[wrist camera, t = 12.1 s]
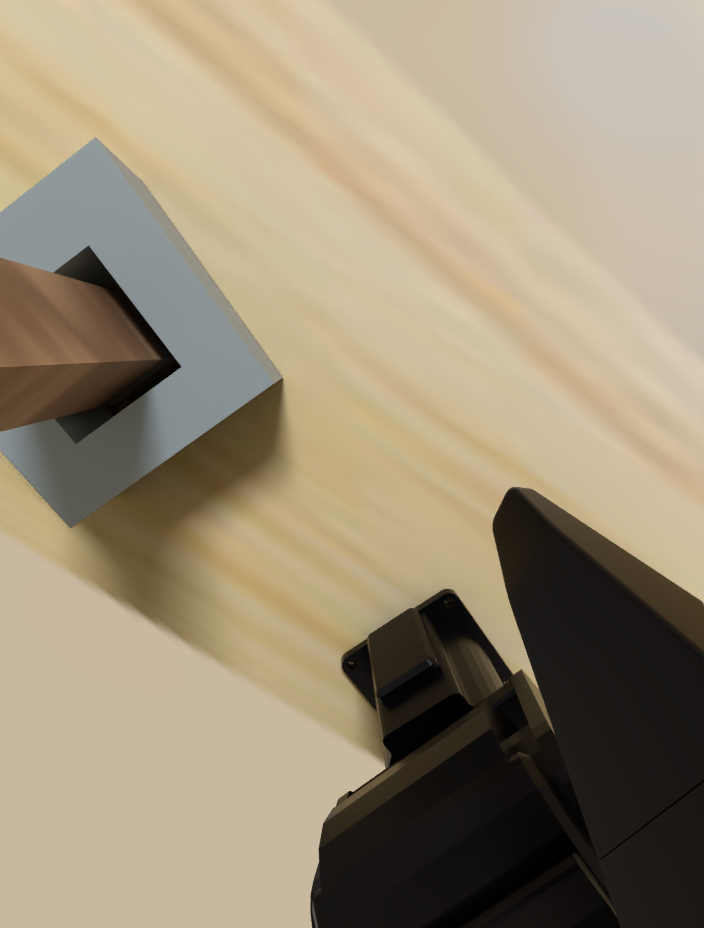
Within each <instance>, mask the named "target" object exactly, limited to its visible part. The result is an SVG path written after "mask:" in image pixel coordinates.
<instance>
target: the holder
mask: <svg viewBox="0 0 704 928" xmlns="http://www.w3.org/2000/svg"><path fill="white" fill-rule="evenodd" d="M0 258H4V259H7V260H11V261H14V262H17V263H21V264H24V265H28V266H31V267H35V268H38V269H42V270H45V271H49V272H52V273H55V274H59V275H62V276H66V277H69V278H73V279H76V280H80V281H83V282H87V283H90V284H93V285H97V286H100V287H104V288H108V287H110V286H111V285H112V284H114V283H115V282H117V283H118V284H119V286H120V287H121V288H122V290H123V291H124V292H125V293H126V295H127V296H128V297H129V299H130V300H131V301H132V303H133V304H134V305H135V307H136V308H137V309H138V310H139V312H140V313H141V314H142V316H143V317H144V318H145V320H146V321H147V322H148V323H149V325H150V326H151V327H152V329H153V330H154V331H155V333H156V334H157V335H158V337H159V338H160V339H161V340H162V342H163V343H164V344H165V346H166V347H167V348H168V350H169V351H170V352H171V354H172V355H173V356H174V357H175V359H176V360H177V361H178V363H179V364H180V365H181V368H180V369H178V370H177V371H176V372H174V373H173V374H171V375H170V376H169V377H167V378H166V379H165V380H163V381H162V382H160V383H159V384H158V385H156V386H155V387H154V388H152V389H151V390H149V391H148V392H147V393H145V394H144V395H143V396H141V397H140V398H138V399H137V400H136V401H134V402H133V403H132V404H130V405H129V406H128V407H126V408H125V409H123V410H122V411H121V412H119V413H118V414H117V415H115V416H113V415H112V414H111V413H110V411H109V410H108V409H107V408H106V406H102V407H98V408H94V409H90V410H86V411H82V412H78V413H74V414H70V415H66V416H62V417H58V418H54V419H50V420H46V421H42V422H38V423H34V424H30V425H26V426H22V427H18V428H14V429H10V430H6V431H2V432H0V451H1V452H2V453H3V454H4V455H5V456H6V457H7V458H8V460H9V461H10V462H11V463H12V464H13V465H14V466H15V467H16V468H17V470H18V471H19V472H20V473H21V474H22V475H23V476H24V477H25V478H26V480H27V481H28V482H29V483H30V484H31V485H32V486H33V487H34V488H35V490H36V491H37V492H38V493H39V494H40V495H41V496H42V497H43V498H44V500H45V501H46V502H47V503H48V504H49V505H50V506H51V507H52V508H53V510H54V511H55V512H56V513H57V514H58V515H59V516H60V517H61V518H62V520H63V521H64V522H65V523H66V524H67V525H68V526H69V527H70V528H72V527H73V526H74V525H76V524H77V523H79V522H80V521H82V520H83V519H84V518H86V517H87V516H89V515H90V514H92V513H93V512H94V511H96V510H97V509H99V508H100V507H102V506H103V505H105V504H106V503H107V502H109V501H110V500H112V499H113V498H115V497H116V496H117V495H119V494H120V493H122V492H123V491H124V490H126V489H127V488H129V487H130V486H131V485H133V484H134V483H136V482H137V481H138V480H140V479H141V478H143V477H144V476H145V475H147V474H148V473H150V472H151V471H152V470H154V469H155V468H157V467H158V466H160V465H161V464H162V463H164V462H165V461H167V460H168V459H169V458H171V457H172V456H174V455H175V454H176V453H178V452H179V451H181V450H182V449H183V448H185V447H186V446H188V445H189V444H190V443H192V442H193V441H195V440H196V439H197V438H199V437H200V436H202V435H203V434H204V433H206V432H207V431H209V430H210V429H211V428H213V427H214V426H216V425H217V424H218V423H220V422H221V421H223V420H224V419H226V418H227V417H228V416H230V415H231V414H233V413H234V412H235V411H237V410H238V409H240V408H241V407H242V406H244V405H245V404H247V403H248V402H249V401H251V400H252V399H254V398H255V397H256V396H258V395H259V394H261V393H262V392H263V391H265V390H266V389H268V388H269V387H270V386H272V385H273V384H275V383H276V382H277V381H279V380H280V379H282V378H283V377H282V375H281V374H280V373H279V371H278V370H277V368H276V367H275V366H274V364H273V363H272V361H271V360H270V359H269V357H268V356H267V354H266V353H265V352H264V350H263V349H262V347H261V346H260V345H259V343H258V342H257V340H256V339H255V338H254V336H253V335H252V333H251V332H250V331H249V329H248V328H247V326H246V325H245V324H244V322H243V321H242V320H241V318H240V317H239V315H238V314H237V313H236V311H235V310H234V308H233V307H232V306H231V304H230V303H229V301H228V300H227V299H226V297H225V296H224V294H223V293H222V292H221V290H220V289H219V287H218V286H217V285H216V283H215V282H214V280H213V279H212V278H211V276H210V275H209V273H208V272H207V271H206V269H205V268H204V266H203V265H202V264H201V262H200V261H199V259H198V258H197V257H196V255H195V254H194V252H193V251H192V250H191V248H190V247H189V245H188V244H187V243H186V241H185V240H184V238H183V237H182V236H181V234H180V233H179V231H178V230H177V229H176V227H175V226H174V224H173V223H172V222H171V220H170V219H169V217H168V216H167V215H166V213H165V212H164V210H163V209H162V208H161V206H160V205H159V203H158V202H157V201H156V199H155V198H154V196H153V195H152V194H151V192H150V191H149V190H148V188H147V187H146V185H145V184H144V183H143V181H142V180H141V179H140V178H138V177H137V176H136V175H135V174H134V173H133V172H132V171H131V170H130V169H129V168H128V167H127V166H126V165H125V164H124V163H123V162H121V161H120V160H119V159H118V158H117V157H116V156H115V155H114V154H113V153H112V152H111V151H110V150H109V149H108V148H107V147H106V146H104V145H103V144H102V143H101V142H100V141H99V140H98V139H97V138H96V137H95V138H94V139H93V140H91V141H90V142H89V143H88V144H86V145H85V146H84V147H82V148H81V149H80V150H79V151H77V152H76V153H75V154H74V155H72V156H71V157H70V158H69V159H67V160H66V161H65V162H64V163H62V164H61V165H60V166H58V167H57V168H56V169H55V170H53V171H52V172H51V173H50V174H48V175H47V176H46V177H45V178H43V179H42V180H41V181H40V182H38V183H37V184H36V185H34V186H33V187H32V188H31V189H29V190H28V191H27V192H26V193H24V194H23V195H22V196H21V197H19V198H18V199H17V200H16V201H14V202H13V203H12V204H10V205H9V206H8V207H7V208H5V209H4V210H3V211H2V212H0Z"/></svg>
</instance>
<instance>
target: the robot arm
mask: <svg viewBox="0 0 704 928" xmlns="http://www.w3.org/2000/svg"><path fill="white" fill-rule="evenodd" d="M493 534H494V538H495V543H496V547H497V551H498V556H499V560H500V565H501V569H502V574H503V578H504V582H505V587H506V591H507V594H508V598H509V601H510V605H511V608H512V611H513V614H514V617H515V620H516V623H517V626H518V628H519V631H520V634H521V637H522V640H523V643H524V646H525V649H526V652H527V655H528V658H529V660H530V663H531V666H532V669H533V672H534V675H535V678H536V681H537V684H538V687H539V689H538V688H537V687H536V686H535V685H534V683H533V682H532V681H531V680H530V678H529V677H528V676H527V675H526V674H525V672H524V671H523V670H522V669H521V670H519V671H518V672H517V673H515V674H514V675H513V673H512V672H511V670H510V669H509V668H508V666H507V665H506V663H505V662H504V660H503V659H502V658H501V656H500V655H499V653H498V652H497V650H496V649H495V648H494V646H493V645H492V643H491V642H490V641H489V639H488V638H487V636H486V635H485V633H484V632H483V631H482V629H481V628H480V626H479V625H478V624H477V622H476V621H475V619H474V618H473V616H472V615H471V614H470V612H469V611H468V609H467V608H466V606H465V605H464V604H463V602H462V601H461V599H460V598H459V597H458V595H457V594H456V592H454V591H453V590H451V589H444V590H442V591H440V592H439V593H437V594H436V595H434V596H432V597H431V598H429V599H428V600H426V601H425V602H423V603H422V604H420V605H419V606H417V607H415V608H410V609H408V610H406V611H405V612H403V613H402V614H400V615H399V616H397V617H396V618H394V619H392V620H391V621H389V622H388V623H386V624H385V625H383V626H382V627H380V628H379V629H377V630H376V631H374V632H372V633H371V634H369V636H368V639H366V640H364V641H363V642H361V643H360V644H358V645H357V646H355V647H354V648H352V649H351V650H349V651H347V652H346V653H345V654H344V655H343V657H342V668H343V670H344V672H345V673H346V674H347V675H348V676H349V678H350V679H351V680H352V681H353V683H354V684H355V685H356V686H357V688H358V689H359V690H360V691H361V693H362V694H363V695H364V696H365V697H366V699H367V700H368V701H369V702H370V704H371V705H372V706H373V707H374V709H375V710H376V711H377V713H378V720H379V727H380V733H381V740H382V747H383V753H384V760H385V767H386V769H385V770H384V771H382V772H381V773H379V774H378V775H377V776H375V777H374V778H372V779H371V780H370V781H368V782H367V783H365V784H364V785H362V786H361V787H360V788H358V789H357V790H355V791H354V792H351V791H349V792H347V793H346V794H345V795H343V796H342V797H340V798H339V799H338V802H337V805H336V807H335V808H333V809H332V811H331V812H330V814H329V815H328V817H327V818H326V820H325V822H324V823H323V828H322V834H321V839H320V845H319V864H318V868H317V871H316V874H315V877H314V881H313V886H312V891H311V919H312V920H311V921H312V928H704V604H703V602H702V601H701V600H699V599H698V598H696V597H694V596H693V595H691V594H690V593H688V592H687V591H685V590H684V589H682V588H681V587H679V586H678V585H676V584H675V583H673V582H672V581H670V580H669V579H667V578H666V577H664V576H663V575H661V574H660V573H658V572H657V571H655V570H654V569H652V568H651V567H649V566H648V565H646V564H645V563H643V562H642V561H640V560H639V559H637V558H636V557H634V556H633V555H631V554H630V553H628V552H627V551H625V550H624V549H622V548H621V547H619V546H617V545H616V544H614V543H613V542H611V541H610V540H608V539H607V538H605V537H604V536H602V535H601V534H599V533H598V532H596V531H595V530H593V529H592V528H590V527H589V526H587V525H586V524H584V523H583V522H581V521H580V520H578V519H577V518H575V517H574V516H572V515H571V514H569V513H568V512H566V511H565V510H563V509H562V508H560V507H559V506H557V505H556V504H554V503H553V502H551V501H550V500H548V499H547V498H545V497H543V496H542V495H540V494H539V493H537V492H536V491H534V490H533V489H530V488H521V487H512V488H510V489H509V490H508V491H507V492H506V494H505V496H504V498H503V500H502V502H501V504H500V507H499V509H498V511H497V513H496V515H495V517H494V520H493ZM446 598H452V601H451V602H450V603H444V600H445V599H446ZM351 660H354V661H356V663H355V664H349V663H348V662H349V661H351ZM507 680H509V682H508V683H506V684H503V683H504V682H505V681H507ZM539 690H540V691H539Z"/></svg>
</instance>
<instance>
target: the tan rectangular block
mask: <svg viewBox="0 0 704 928" xmlns="http://www.w3.org/2000/svg"><path fill="white" fill-rule="evenodd" d="M176 362H178V361H177V360H176V359H175V357H174V356H173V355H172V354H171V352H170V351H169V350H168V348H167V347H166V346H165V344H164V343H163V342H162V340H161V339H160V338H159V337H158V335H157V334H156V333H155V331H154V330H153V329H152V327H151V326H150V325H149V323H148V322H147V321H146V320H145V318H144V317H143V316H142V314H141V313H140V312H139V310H138V309H137V308H136V307H135V305H134V304H133V303H132V301H131V300H130V299H129V297H128V296H127V295H126V294H125V293H121V292H118V291H114V290H111V289H107V288H104V287H100V286H97V285H93V284H90V283H87V282H83V281H80V280H76V279H73V278H69V277H66V276H62V275H59V274H55V273H52V272H49V271H45V270H42V269H38V268H35V267H31V266H28V265H24V264H21V263H17V262H14V261H11V260H7V259H4V258H0V432H2V431H6V430H10V429H14V428H18V427H22V426H26V425H30V424H34V423H38V422H42V421H46V420H50V419H54V418H58V417H62V416H66V415H70V414H74V413H78V412H82V411H86V410H90V409H94V408H98V407H102V406H106V405H110V404H114V403H118V402H122V401H126V400H127V399H129V398H130V397H131V396H133V395H134V394H135V393H137V392H138V391H139V390H141V389H142V388H143V387H145V386H146V385H147V384H149V383H150V382H151V381H153V380H154V379H155V378H156V377H158V376H159V375H160V374H162V373H163V372H164V371H166V370H167V369H168V368H170V367H171V366H172V365H174V364H175V363H176Z"/></svg>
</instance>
